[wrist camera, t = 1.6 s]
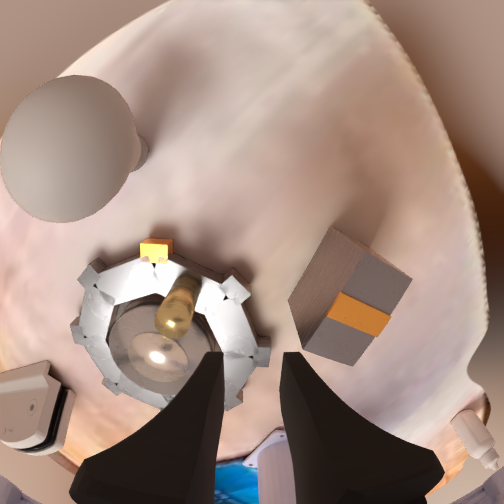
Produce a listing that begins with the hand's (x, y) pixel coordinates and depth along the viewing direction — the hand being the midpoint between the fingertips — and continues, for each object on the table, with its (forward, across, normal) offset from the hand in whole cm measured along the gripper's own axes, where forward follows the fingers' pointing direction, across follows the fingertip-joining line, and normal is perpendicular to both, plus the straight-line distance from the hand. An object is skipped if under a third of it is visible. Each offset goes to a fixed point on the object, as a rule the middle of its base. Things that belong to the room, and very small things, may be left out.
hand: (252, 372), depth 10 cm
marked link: (+10, -6, 0) cm, 11 cm away
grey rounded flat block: (+10, +26, +17) cm, 33 cm away
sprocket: (+9, +6, +5) cm, 12 cm away
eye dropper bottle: (+10, -32, +23) cm, 40 cm away
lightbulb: (+10, +8, -9) cm, 15 cm away
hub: (+9, +6, +5) cm, 12 cm away
